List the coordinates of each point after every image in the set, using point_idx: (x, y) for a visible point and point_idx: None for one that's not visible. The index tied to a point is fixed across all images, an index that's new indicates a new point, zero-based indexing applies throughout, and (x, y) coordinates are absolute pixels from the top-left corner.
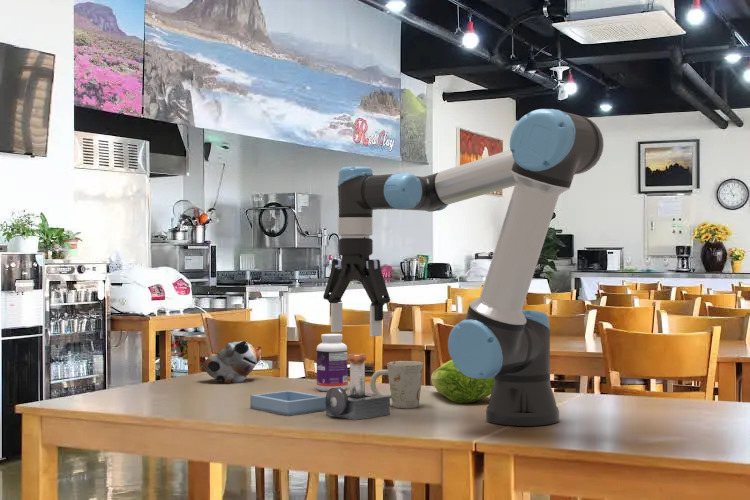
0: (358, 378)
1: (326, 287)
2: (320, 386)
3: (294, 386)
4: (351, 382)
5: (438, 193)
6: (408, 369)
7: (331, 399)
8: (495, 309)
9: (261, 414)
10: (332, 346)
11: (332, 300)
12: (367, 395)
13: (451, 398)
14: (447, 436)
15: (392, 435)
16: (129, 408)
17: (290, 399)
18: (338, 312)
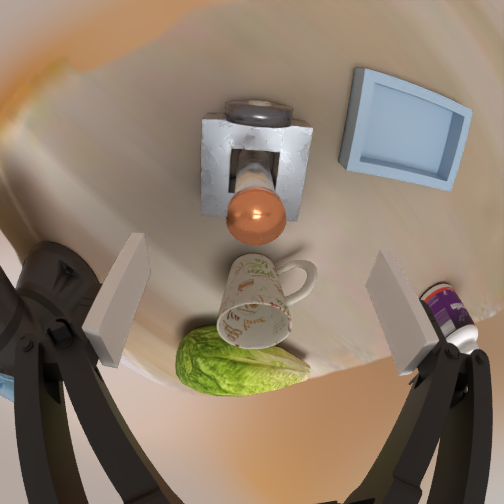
0: (238, 179)
1: (489, 399)
2: (446, 286)
3: (480, 285)
4: (257, 168)
5: None
6: (223, 307)
7: (265, 102)
8: None
9: (405, 59)
10: (455, 340)
11: (437, 356)
12: None
13: None
14: (17, 141)
15: (56, 80)
16: None
17: (434, 174)
18: (396, 327)
